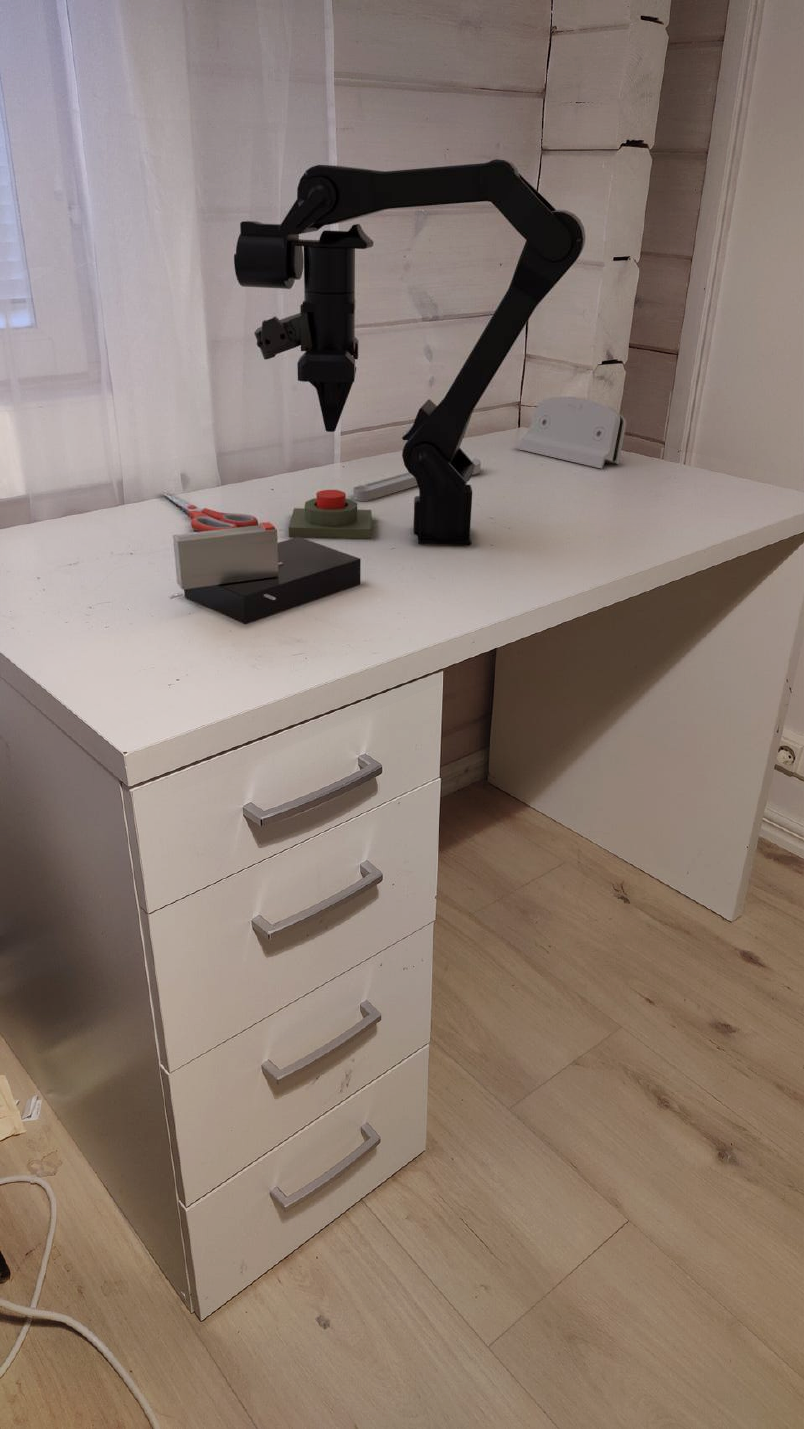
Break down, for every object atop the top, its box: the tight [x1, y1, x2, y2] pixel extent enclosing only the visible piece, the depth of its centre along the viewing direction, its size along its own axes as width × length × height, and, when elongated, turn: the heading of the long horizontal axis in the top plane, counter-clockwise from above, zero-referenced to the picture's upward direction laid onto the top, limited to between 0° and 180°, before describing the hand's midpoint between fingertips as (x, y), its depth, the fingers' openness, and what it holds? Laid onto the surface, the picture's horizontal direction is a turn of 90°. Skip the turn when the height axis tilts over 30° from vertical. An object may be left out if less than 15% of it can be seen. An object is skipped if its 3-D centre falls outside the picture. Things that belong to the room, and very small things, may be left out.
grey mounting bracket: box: [518, 396, 627, 469], centre depth 161 cm, size 17×5×10 cm, turn 47°
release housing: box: [288, 497, 373, 539], centre depth 126 cm, size 10×8×3 cm
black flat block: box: [168, 537, 362, 625], centre depth 105 cm, size 14×22×3 cm, turn 137°
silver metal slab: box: [172, 521, 279, 591], centre depth 100 cm, size 10×2×5 cm, turn 115°
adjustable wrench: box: [352, 458, 482, 502], centre depth 146 cm, size 25×6×2 cm, turn 133°
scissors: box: [162, 492, 259, 532], centre depth 129 cm, size 8×21×2 cm, turn 48°
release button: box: [316, 489, 347, 509], centre depth 125 cm, size 4×4×2 cm
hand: (330, 431), depth 121 cm, fingers closed
